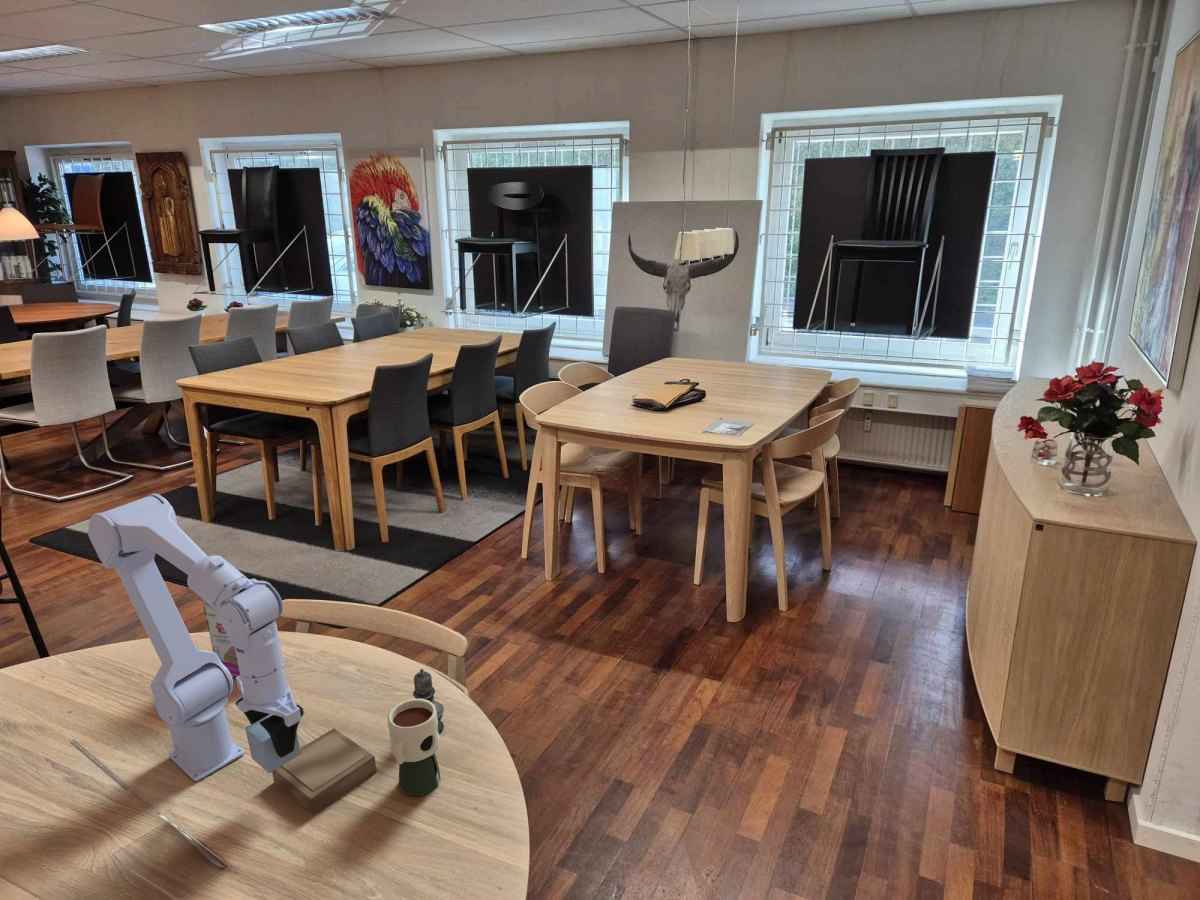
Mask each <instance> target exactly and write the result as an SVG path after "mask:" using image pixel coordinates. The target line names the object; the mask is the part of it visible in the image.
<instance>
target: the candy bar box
mask: <svg viewBox="0 0 1200 900" xmlns="http://www.w3.org/2000/svg"><path fill="white" fill-rule="evenodd" d="M202 605H203V609H204V610H203V611H204V613H205V619H206V624H207V629H208V634H209V638H210V644H211V647H212V652H214V653H216V654H217V656H218V658H219V659H220V661H221V662H222V664H223V665H224V666H225V667H226V668H227V669H228V670H229V672H230V674H231V676H233V677H238V676H240V671H239V666H238V661H237V656H236V651H235V647H233V646H231V643H230V642H229V639H228V635H227V633H226V631H225V630H224V628H223V627H222V625H221V623H220V621H219V618H218V615H220V614H219V612H217V611H216V610H215V609H214V608H213V607H212V606H210V605H209V604H208V603H207V602H206V601H204V600H202Z"/></svg>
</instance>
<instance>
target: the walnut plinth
mask: <svg viewBox="0 0 1200 900" xmlns="http://www.w3.org/2000/svg"><path fill="white" fill-rule="evenodd" d="M300 752H301V754H300V755H299V756H297V757H295V758H294V759H292V760H290V761H289V762H287V763H285V764H284V765H282V766H280V767H279V768H277V769H276V770H274V771H272V772H271V774H272V778H273V782H274V784H275V785H277V786H278V787H279V788H280V789H281V790H283V791H284V792H285V793H286V794H288V795H289V796H290V797H291V798H292V799H294V800H295V801H296V802H297V803H299V805H301V806H302V807H304V809H306V810H307V811H308V812H309V813H311V815H313V816H315V815H317V814H318V813H319V812H321V811H322V810H324V809H325V808H327V807H328V806H329V805H331V804H333V802H335V801H337V800H338V799H340V798H341V797H343V796H345V795H346V794H347V793H348V792H349V791H351V790H353V789H355V788H356V787H357V786H359V785H360V784H361V783H363V782H364V781H366V780H367V779H369V778H370V777H372V776H373V775H375V774H376V773H377V772H378V771H377V762H376V758H375V757H376V756H375V755H374V754H372V753H371V752H369V751H368V750H366V749H365V748H364V747H362V746H361V745H359V744H358V743H356V742H355V741H354V740H352V739H351V738H350V737H347V736H346V735H345V734H343V733H342V732H340V731H338V730H337V729H336V728H335V727H333V728H331V729H330V730H328V731H327V732H325V733H324V734H322V735H320V736H319V737H317V738H315V739H314V740H312V741H310V742H309V743H307V744H306V745H303V746H302V747H300Z"/></svg>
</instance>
